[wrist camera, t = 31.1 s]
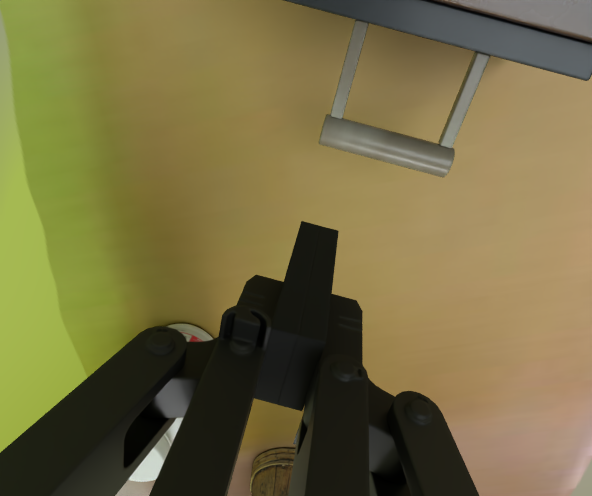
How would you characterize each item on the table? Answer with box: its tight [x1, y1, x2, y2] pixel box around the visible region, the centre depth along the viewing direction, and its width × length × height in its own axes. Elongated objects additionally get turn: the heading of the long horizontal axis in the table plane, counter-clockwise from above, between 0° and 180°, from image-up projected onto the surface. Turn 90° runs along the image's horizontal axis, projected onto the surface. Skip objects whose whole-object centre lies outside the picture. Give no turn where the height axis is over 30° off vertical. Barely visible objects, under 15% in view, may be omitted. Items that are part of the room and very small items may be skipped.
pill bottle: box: [128, 324, 213, 482], centre depth 33 cm, size 6×6×11 cm
